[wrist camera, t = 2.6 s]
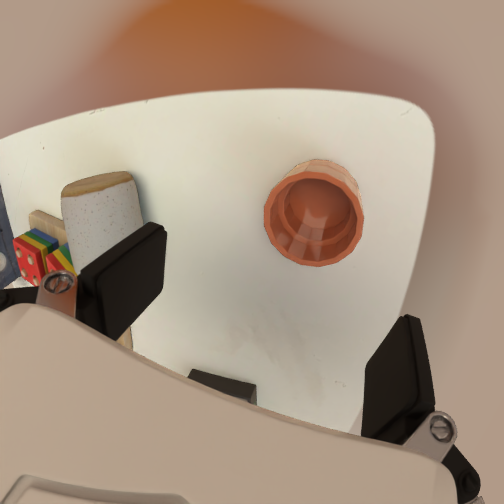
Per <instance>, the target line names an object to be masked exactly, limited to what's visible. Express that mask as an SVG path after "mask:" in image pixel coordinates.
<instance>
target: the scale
mask: <svg viewBox="0 0 504 504" xmlns="http://www.w3.org/2000/svg"><path fill="white" fill-rule="evenodd" d="M187 378H189V379H191V380H194V381H196V382H198V383H200V384H203V385H205V386H207V387H210V388H212V389H215V390H217V391H219V392H222V393H224V394H227V395H229V396H232V397H234V398H237V399H240V400H242V401H245V402H248V403H250V404H253V405H256V406H257V404H256V385H253V384H249V383H245V382H240V381H236V380H232V379H228V378H224V377H220V376H216V375H212V374H209V373H205V372H202V371H198V370H195V369H192V370H191V372H190V374H189V375H188V377H187Z"/></svg>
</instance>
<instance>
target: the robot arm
mask: <svg viewBox="0 0 504 504" xmlns="http://www.w3.org/2000/svg"><path fill="white" fill-rule="evenodd" d="M166 242H167V232H166V231H165V230H164V227H163V226H162V225H159V224H156V223H154V222H148V223H146V224H145V225H143V226H142V227H140V228H139V229H138V230H136V231H135V232H133V233H132V234H130V235H129V236H127V237H126V238H124V239H123V240H121V241H120V242H119V243H117V244H116V245H114V246H113V247H111V248H110V249H109V250H107V251H106V252H104V253H103V254H102V255H100V256H99V257H98V258H96V259H95V260H93V261H92V262H91V263H89V264H88V265H87V266H85V267H84V268H83V269H81V270H80V274H79V275H78V276H76V275H75V274H74V273H72V272H71V271H68V270H55V271H52V272H49V273H48V274H46V275H45V276H44V277H43V278H42V280H41V282H40V285H39V286H35V287H23V288H11V289H2V290H0V504H485V503H484V501H483V498H482V496H480V497H478V496H477V495H478V493H479V491H480V486H481V485H480V478H479V475H478V473H477V472H476V470H475V469H474V468H473V467H472V466H471V464H470V463H469V462H468V461H467V459H466V458H465V457H464V456H463V455H462V454H461V452H460V451H459V450H458V449H457V447H456V446H455V445H454V442H455V440H456V438H457V428H456V425H455V422H454V421H453V419H452V418H451V417H450V416H449V415H448V414H446V413H444V412H442V411H435V407H434V405H435V397H434V389H433V382H432V376H431V370H430V364H429V359H428V354H427V349H426V344H425V339H424V335H423V330H422V325H421V322H420V319H419V318H416V317H414V316H411V315H408V314H406V315H404V317H402V316H400V317H399V318H398V319H397V321H396V323H395V324H394V326H393V327H392V329H391V330H390V331H389V333H388V334H387V336H386V337H385V339H384V340H383V342H382V343H381V344H380V346H379V347H378V349H377V350H376V351H375V353H374V354H373V356H372V357H371V358H370V360H369V361H368V362H367V365H366V368H365V384H364V403H363V418H362V429H361V436H357V435H353V434H349V433H345V432H341V431H337V430H333V429H330V428H326V427H322V426H318V425H315V424H311V423H308V422H305V421H301V420H298V419H295V418H291V417H288V416H285V415H282V414H279V413H276V412H273V411H270V410H267V409H264V408H261V407H259V406H256V405H253V404H250V403H248V402H245V401H242V400H240V399H237V398H234V397H232V396H229V395H227V394H224V393H222V392H219V391H217V390H215V389H212V388H210V387H207V386H205V385H203V384H200V383H198V382H196V381H194V380H191V379H189V378H187V377H185V376H183V375H180V374H178V373H176V372H174V371H172V370H170V369H168V368H166V367H163V366H161V365H159V364H157V363H155V362H153V361H151V360H149V359H147V358H146V357H144V356H142V355H140V354H138V353H136V352H134V351H132V350H130V349H129V348H127V347H125V346H123V345H121V344H119V343H117V342H116V341H117V340H118V339H119V338H120V337H121V335H122V334H123V333H124V332H125V331H126V330H127V329H128V328H129V327H130V325H131V324H132V323H133V322H134V321H135V320H136V319H137V318H138V317H139V316H140V315H141V313H142V312H143V311H144V310H145V309H146V308H147V307H148V306H149V305H150V304H151V303H152V302H153V300H154V299H155V298H156V297H157V296H158V295H159V294H160V293H161V291H162V289H163V282H164V267H165V254H166Z"/></svg>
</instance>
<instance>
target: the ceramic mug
mask: <svg viewBox="0 0 504 504" xmlns="http://www.w3.org/2000/svg"><path fill="white" fill-rule="evenodd" d="M61 211H62V217H63V221H64V225H65V230H66V235H67V240H68V245H69V249H70V254H71V258H72V262H73V266H74V270H75V272H76V273H77V275H79V274H80V270H81V269H83V268H84V267H85V266H87V265H88V264H89V263H91V262H92V261H93V260H95V259H96V258H98V257H99V256H100V255H102V254H103V253H104V252H106V251H107V250H109V249H110V248H111V247H113V246H114V245H116V244H117V243H119V242H120V241H121V240H123V239H124V238H126V237H127V236H129V235H130V234H132V233H133V232H135V231H136V230H138V229H139V228H140V227H142V226H143V225H144V224H143V220H142V215H141V210H140V205H139V198H138V193H137V188H136V185H135V182H134V179H133V177H132V175H130V174H129V173H127V172H125V171H123V172H112V173H106V174H101V175H96V176H92V177H88V178H84V179H81V180H78V181H75V182H73V183H70V184H68V185H66V186H65V187H64V189H63V190H62V192H61Z"/></svg>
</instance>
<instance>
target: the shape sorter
mask: <svg viewBox="0 0 504 504" xmlns="http://www.w3.org/2000/svg"><path fill="white" fill-rule="evenodd" d="M29 222H30V228H31V230H30V231H28V232H26V233H24V234H22V235H20V236H19V237H16V238H15V239H13V245H14V249H15V253H16V257H17V261H18V265H19V268H20V272H21V275H22V277H23V278H24V279H25V280H27V281H28V282H30V283H31V284H32V285H34V286H39V285H40V282H41V280H42V278H43V277H44V276H45V275H46V274H48V273H49V272H52V271H55V270H68V271H71V272H72V273H74V274H75V275H76V276H78V275H77V273H76V272H75V270H74V266H73V262H72V258H71V254H70V249H69V245H68V240H67V235H66V230H65V225H64V221H61V220H59V219H57V218H55V217H53V216H50V215H48V214H46V213H44V212H42V211H39V210H35V211H34V212H32V213H30V214H29ZM116 342H117V343H119V344H121V345H123V346H125V347H127V348H129V349H130V350H132V341H131V333H130V327H129V328H128V329H127V330H126V331H125V332H124V333H123V334H122V335H121V337H120V338H119V339H118V340H117V341H116Z"/></svg>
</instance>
